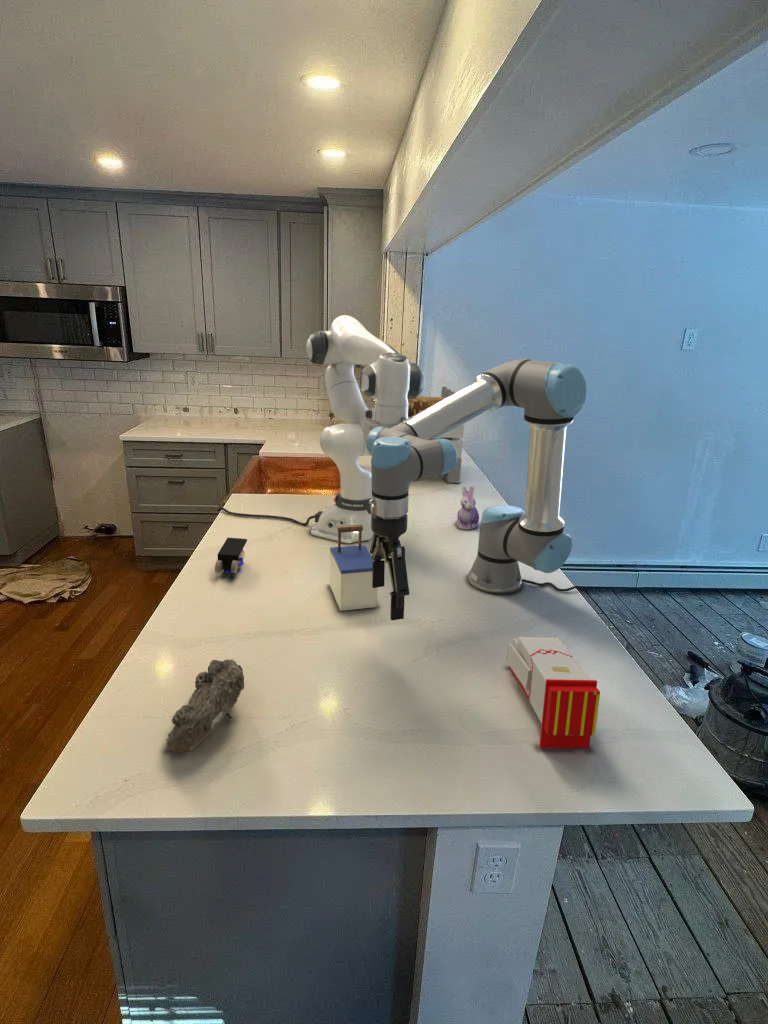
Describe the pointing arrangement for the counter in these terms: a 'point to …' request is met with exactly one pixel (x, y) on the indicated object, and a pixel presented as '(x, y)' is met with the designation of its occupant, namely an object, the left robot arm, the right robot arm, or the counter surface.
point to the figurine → (468, 510)
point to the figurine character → (230, 556)
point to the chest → (352, 588)
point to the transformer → (453, 436)
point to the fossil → (206, 705)
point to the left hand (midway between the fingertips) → (389, 464)
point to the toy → (555, 691)
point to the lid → (351, 553)
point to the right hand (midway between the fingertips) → (387, 602)
